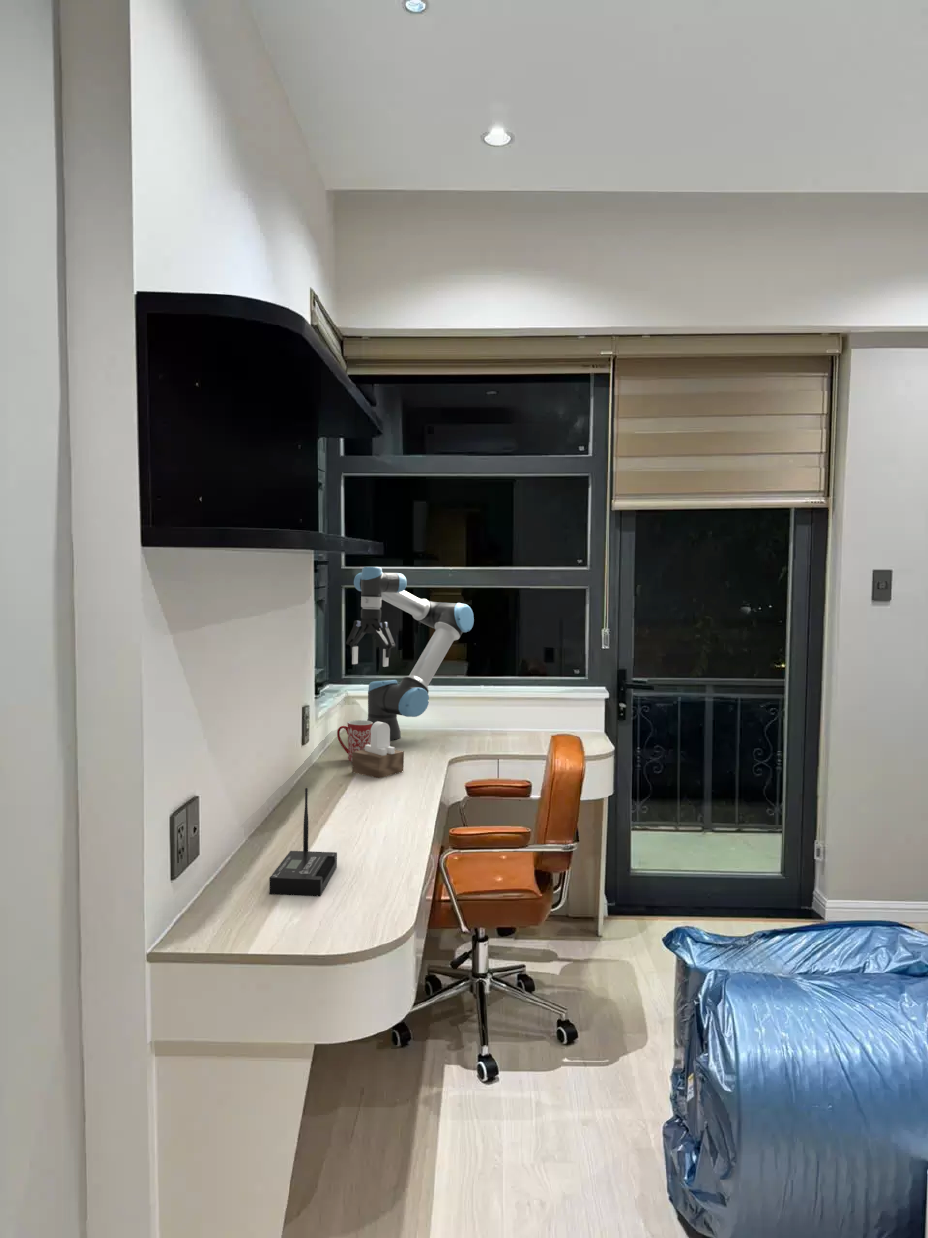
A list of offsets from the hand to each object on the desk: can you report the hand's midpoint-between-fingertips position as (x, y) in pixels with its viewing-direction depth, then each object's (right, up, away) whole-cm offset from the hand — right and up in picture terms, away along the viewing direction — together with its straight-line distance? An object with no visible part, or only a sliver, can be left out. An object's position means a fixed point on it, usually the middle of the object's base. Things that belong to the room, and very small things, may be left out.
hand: (370, 665), depth 295 cm
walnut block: (+6, -34, -32) cm, 47 cm away
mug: (-4, -33, -16) cm, 37 cm away
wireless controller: (+1, -39, -126) cm, 132 cm away
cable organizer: (+7, -27, -33) cm, 43 cm away
